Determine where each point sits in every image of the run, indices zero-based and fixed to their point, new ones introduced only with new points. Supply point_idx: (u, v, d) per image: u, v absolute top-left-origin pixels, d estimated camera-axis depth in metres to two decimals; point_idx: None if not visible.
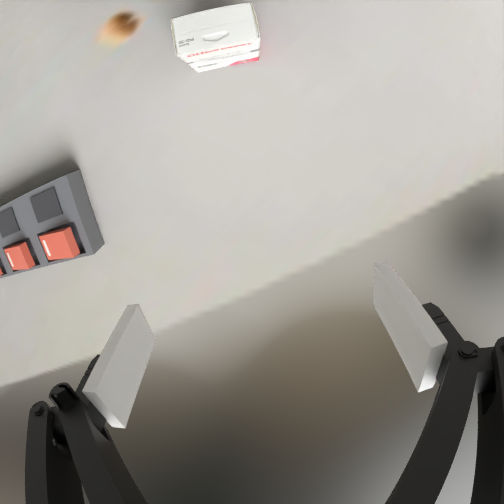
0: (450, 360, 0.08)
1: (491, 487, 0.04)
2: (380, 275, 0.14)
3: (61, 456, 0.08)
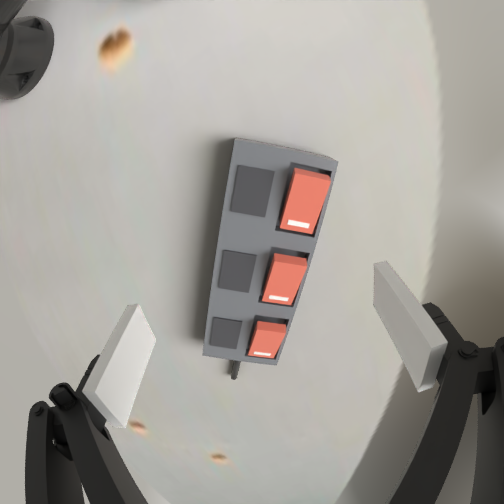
0: (450, 360, 0.08)
1: (491, 487, 0.04)
2: (380, 275, 0.14)
3: (61, 456, 0.08)
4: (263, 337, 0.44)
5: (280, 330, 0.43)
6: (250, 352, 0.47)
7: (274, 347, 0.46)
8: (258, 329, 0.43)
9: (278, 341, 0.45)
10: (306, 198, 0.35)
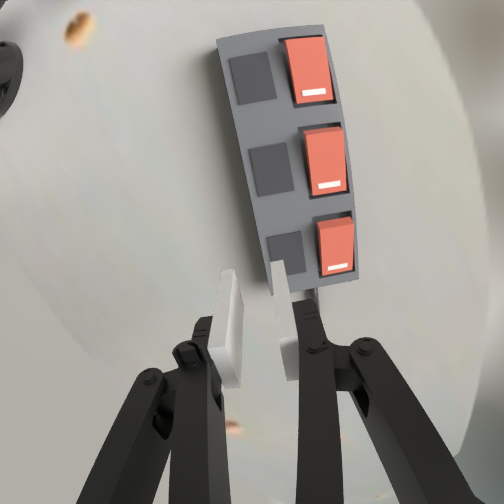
0: (300, 359, 0.10)
1: (408, 483, 0.05)
2: (271, 272, 0.16)
3: (156, 434, 0.09)
4: (331, 240, 0.37)
5: (346, 223, 0.35)
6: (323, 269, 0.40)
7: (348, 251, 0.38)
8: (321, 229, 0.36)
9: (349, 240, 0.37)
10: (308, 61, 0.28)
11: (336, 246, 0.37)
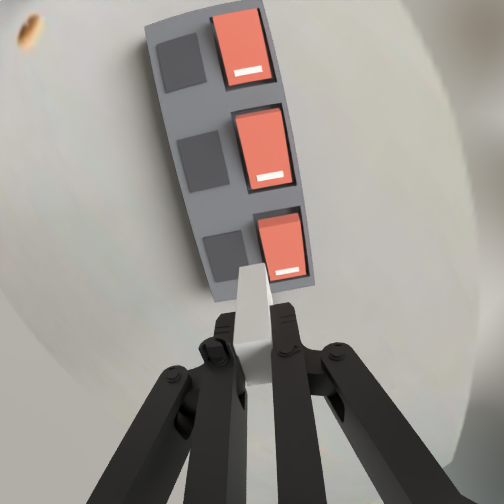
0: (272, 364, 0.10)
1: (390, 486, 0.05)
2: (252, 275, 0.16)
3: (176, 434, 0.09)
4: (274, 240, 0.32)
5: (291, 220, 0.31)
6: (271, 274, 0.36)
7: (297, 253, 0.34)
8: (260, 228, 0.31)
9: (297, 240, 0.32)
10: (240, 37, 0.23)
11: (282, 247, 0.33)
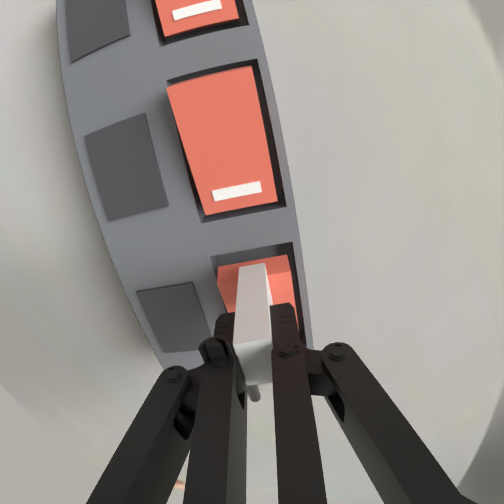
0: (272, 364, 0.10)
1: (390, 486, 0.05)
2: (252, 275, 0.16)
3: (176, 434, 0.09)
4: None
5: (275, 269, 0.18)
6: None
7: None
8: (220, 283, 0.18)
9: (286, 301, 0.19)
10: None
11: None
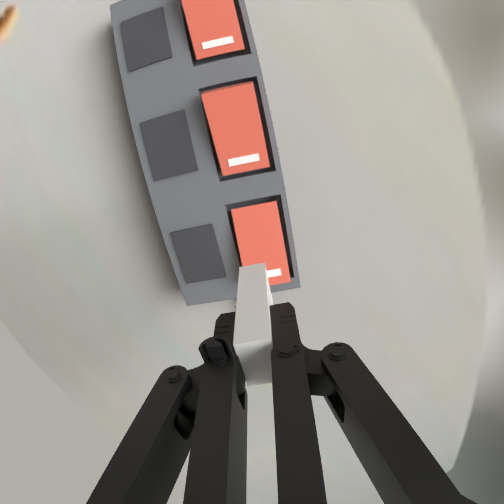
0: (272, 364, 0.10)
1: (390, 486, 0.05)
2: (252, 275, 0.16)
3: (176, 434, 0.09)
4: (249, 226, 0.28)
5: None
6: None
7: (277, 246, 0.29)
8: (233, 209, 0.28)
9: (275, 227, 0.28)
10: (208, 6, 0.19)
11: (258, 237, 0.29)
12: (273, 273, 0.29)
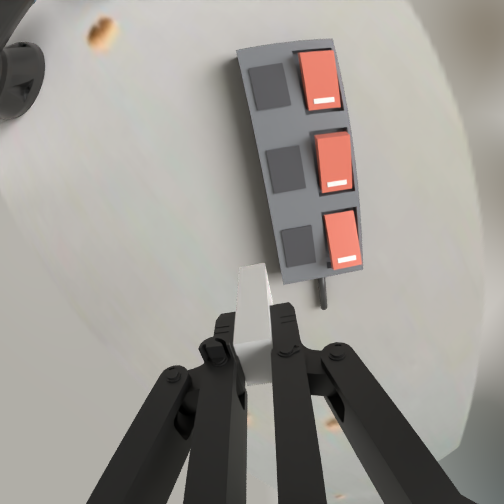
0: (272, 364, 0.10)
1: (390, 486, 0.05)
2: (252, 275, 0.16)
3: (176, 434, 0.09)
4: (336, 226, 0.41)
5: (347, 211, 0.42)
6: (334, 262, 0.42)
7: (354, 240, 0.41)
8: (325, 215, 0.42)
9: (353, 227, 0.41)
10: (320, 73, 0.31)
11: (342, 234, 0.41)
12: (351, 258, 0.42)
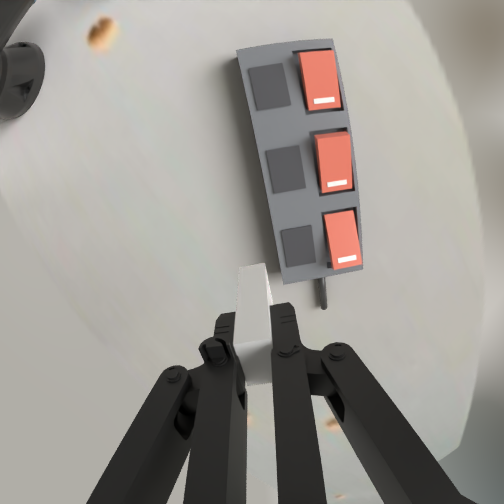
0: (272, 364, 0.10)
1: (390, 486, 0.05)
2: (252, 275, 0.16)
3: (176, 434, 0.09)
4: (336, 226, 0.42)
5: (347, 211, 0.42)
6: (334, 262, 0.42)
7: (354, 240, 0.41)
8: (325, 215, 0.42)
9: (352, 227, 0.41)
10: (320, 73, 0.31)
11: (341, 234, 0.41)
12: (351, 258, 0.41)
